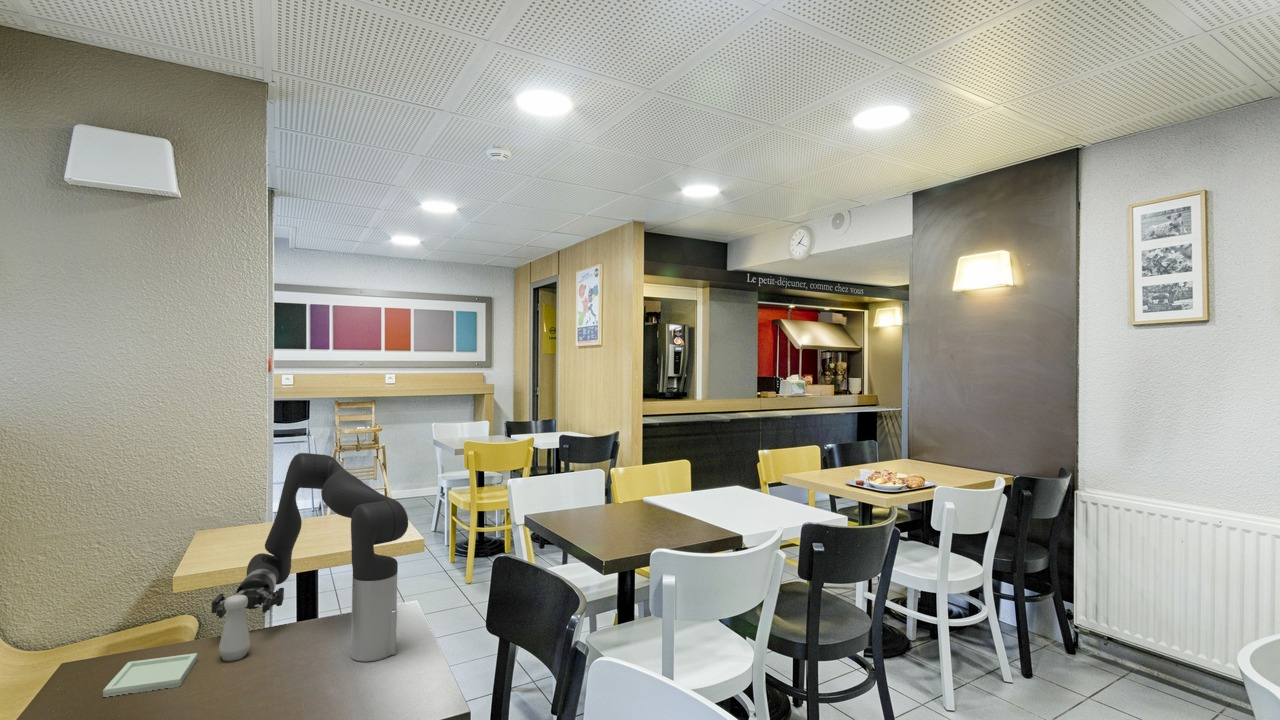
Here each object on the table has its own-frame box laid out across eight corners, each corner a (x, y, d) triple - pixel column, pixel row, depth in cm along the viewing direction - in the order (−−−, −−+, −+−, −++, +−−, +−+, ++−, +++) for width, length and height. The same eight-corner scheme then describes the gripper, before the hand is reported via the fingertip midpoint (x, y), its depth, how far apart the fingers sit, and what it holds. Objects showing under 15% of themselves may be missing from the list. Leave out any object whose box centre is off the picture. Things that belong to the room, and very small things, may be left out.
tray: (197, 660, 132) (197, 653, 132) (179, 686, 121) (179, 679, 121) (128, 669, 128) (128, 662, 128) (102, 697, 117) (103, 689, 117)
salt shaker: (234, 664, 131) (235, 602, 131) (211, 661, 132) (213, 600, 132) (256, 652, 136) (258, 593, 137) (234, 649, 137) (236, 591, 138)
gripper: (224, 576, 153) (205, 598, 138) (289, 570, 158) (278, 590, 143) (223, 606, 153) (204, 632, 138) (288, 599, 158) (278, 623, 143)
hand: (242, 611), depth 140 cm, fingers open, 8 cm apart
